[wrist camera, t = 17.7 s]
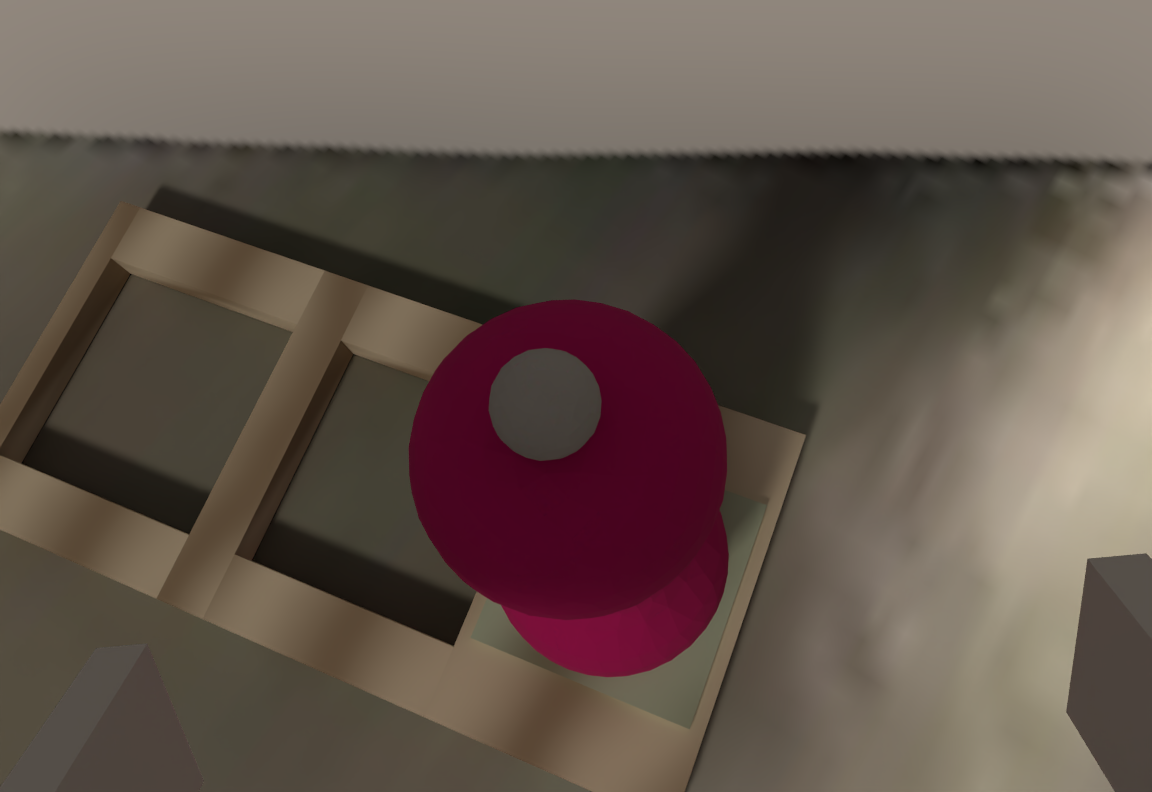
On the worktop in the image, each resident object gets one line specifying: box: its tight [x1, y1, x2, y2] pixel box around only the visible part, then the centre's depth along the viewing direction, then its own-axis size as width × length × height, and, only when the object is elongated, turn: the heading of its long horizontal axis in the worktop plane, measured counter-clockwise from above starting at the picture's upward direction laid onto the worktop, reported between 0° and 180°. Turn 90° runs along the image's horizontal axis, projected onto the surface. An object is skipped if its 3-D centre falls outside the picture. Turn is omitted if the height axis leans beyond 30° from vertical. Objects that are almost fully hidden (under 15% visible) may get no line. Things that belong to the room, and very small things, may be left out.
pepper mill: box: [409, 300, 729, 677], centre depth 23 cm, size 7×7×20 cm
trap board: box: [0, 201, 806, 792], centre depth 36 cm, size 30×14×2 cm, turn 68°
